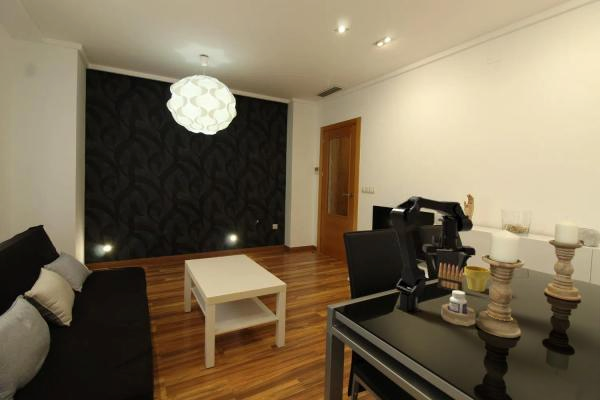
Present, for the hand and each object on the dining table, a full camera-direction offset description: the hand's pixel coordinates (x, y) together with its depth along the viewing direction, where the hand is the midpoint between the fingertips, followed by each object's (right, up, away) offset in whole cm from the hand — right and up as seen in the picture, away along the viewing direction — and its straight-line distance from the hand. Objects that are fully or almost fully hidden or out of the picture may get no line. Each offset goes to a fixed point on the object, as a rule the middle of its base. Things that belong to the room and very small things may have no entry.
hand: (447, 270), depth 122 cm
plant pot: (+22, -13, +17) cm, 30 cm away
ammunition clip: (+9, -13, +15) cm, 22 cm away
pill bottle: (-4, -14, -15) cm, 21 cm away
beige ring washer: (-4, -14, -15) cm, 21 cm away
